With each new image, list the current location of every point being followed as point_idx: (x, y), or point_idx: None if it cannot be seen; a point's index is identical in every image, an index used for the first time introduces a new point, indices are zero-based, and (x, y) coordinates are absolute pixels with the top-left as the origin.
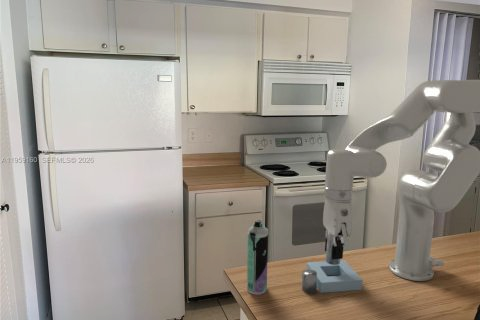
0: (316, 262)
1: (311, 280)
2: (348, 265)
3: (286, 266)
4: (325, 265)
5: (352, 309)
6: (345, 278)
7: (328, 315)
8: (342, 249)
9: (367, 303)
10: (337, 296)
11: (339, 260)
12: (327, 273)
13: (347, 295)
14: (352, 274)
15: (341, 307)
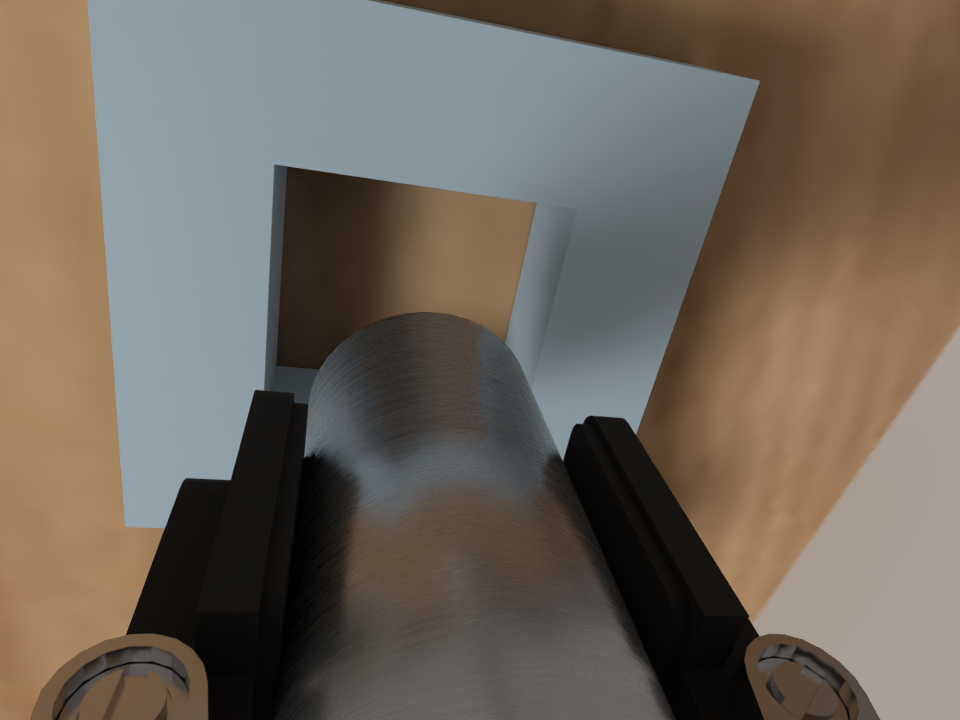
0: (140, 427)
1: None
2: (316, 5)
3: (18, 582)
4: (247, 354)
5: (870, 349)
6: (632, 280)
7: (820, 525)
8: (690, 550)
9: (892, 174)
10: (673, 371)
11: (528, 385)
12: (279, 285)
13: (703, 280)
14: (589, 130)
15: (804, 412)
